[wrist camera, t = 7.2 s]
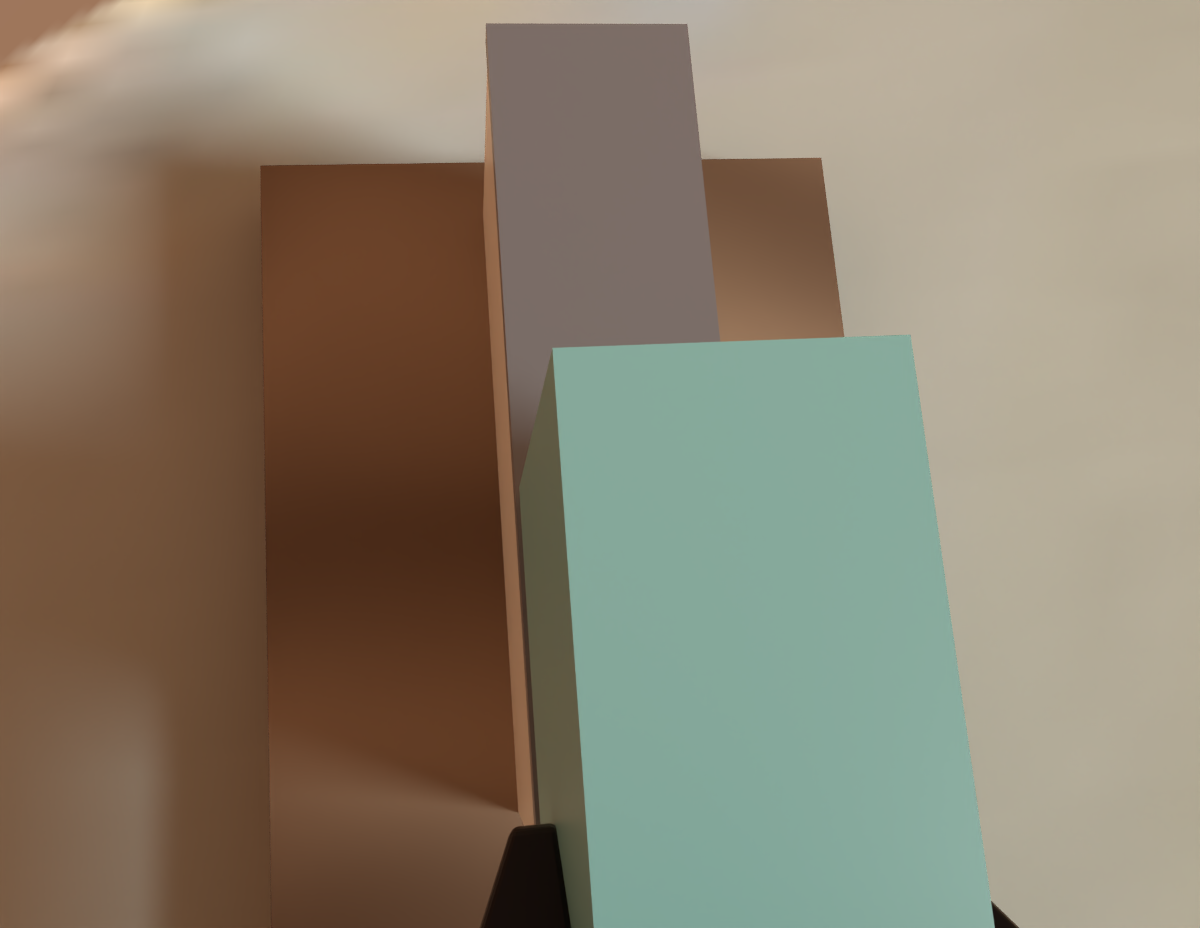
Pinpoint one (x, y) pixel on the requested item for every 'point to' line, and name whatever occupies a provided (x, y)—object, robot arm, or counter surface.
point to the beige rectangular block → (583, 242)
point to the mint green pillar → (746, 641)
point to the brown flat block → (425, 516)
